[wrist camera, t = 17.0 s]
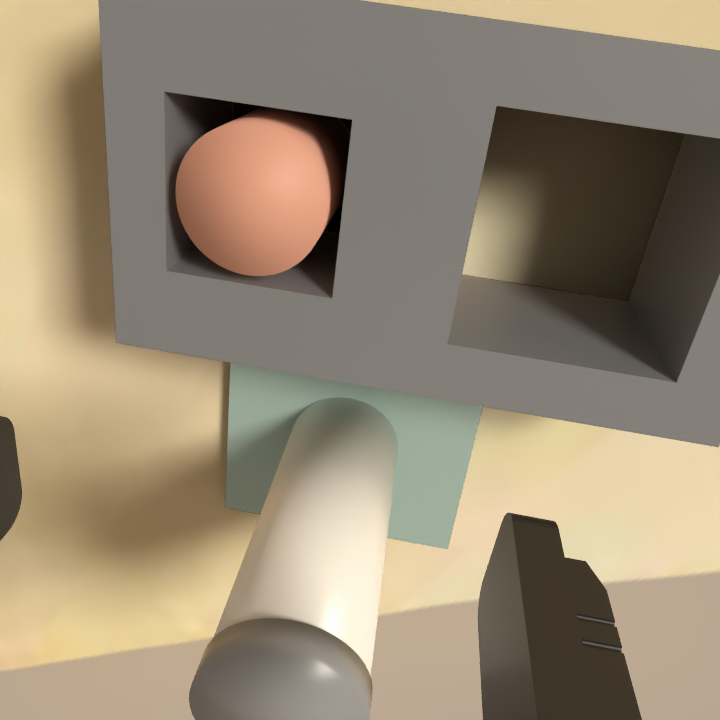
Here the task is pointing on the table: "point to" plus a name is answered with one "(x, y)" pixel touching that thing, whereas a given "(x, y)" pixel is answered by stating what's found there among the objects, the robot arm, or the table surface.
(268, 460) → the mat
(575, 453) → the table surface
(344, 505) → the cartridge
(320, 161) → the orange egg
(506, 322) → the housing
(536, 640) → the robot arm
